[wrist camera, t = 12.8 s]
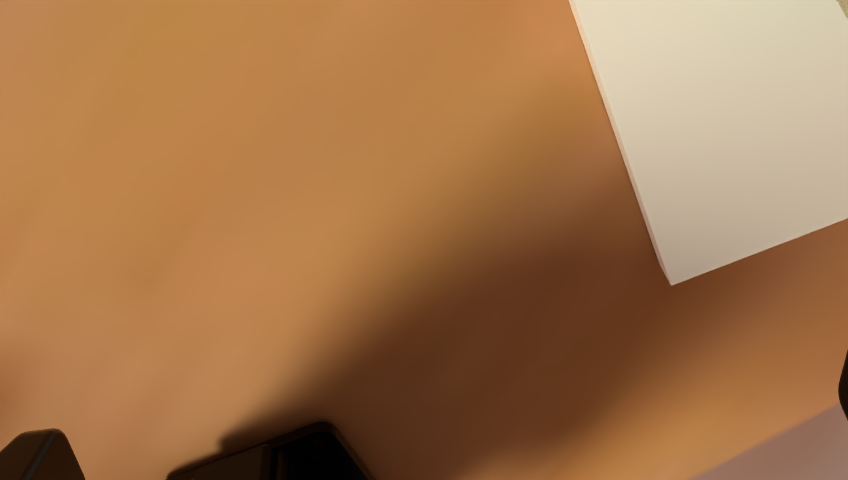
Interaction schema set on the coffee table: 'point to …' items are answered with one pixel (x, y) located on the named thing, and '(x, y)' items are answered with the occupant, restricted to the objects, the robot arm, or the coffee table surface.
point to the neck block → (725, 119)
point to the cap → (844, 7)
